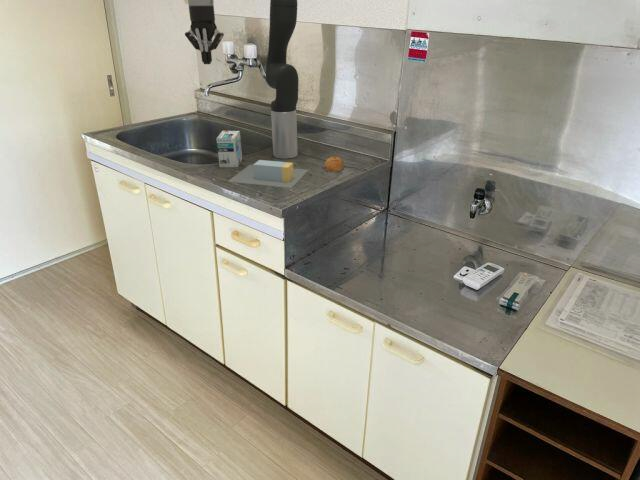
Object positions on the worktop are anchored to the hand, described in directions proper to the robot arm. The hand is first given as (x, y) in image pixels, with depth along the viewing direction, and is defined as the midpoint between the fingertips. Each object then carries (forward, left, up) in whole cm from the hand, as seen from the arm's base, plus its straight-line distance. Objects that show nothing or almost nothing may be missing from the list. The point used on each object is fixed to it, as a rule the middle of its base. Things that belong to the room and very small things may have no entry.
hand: (207, 63), depth 155 cm
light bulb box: (-6, +2, -35) cm, 36 cm away
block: (+6, +18, -32) cm, 37 cm away
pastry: (-10, +40, -36) cm, 55 cm away
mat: (+4, +21, -35) cm, 41 cm away
